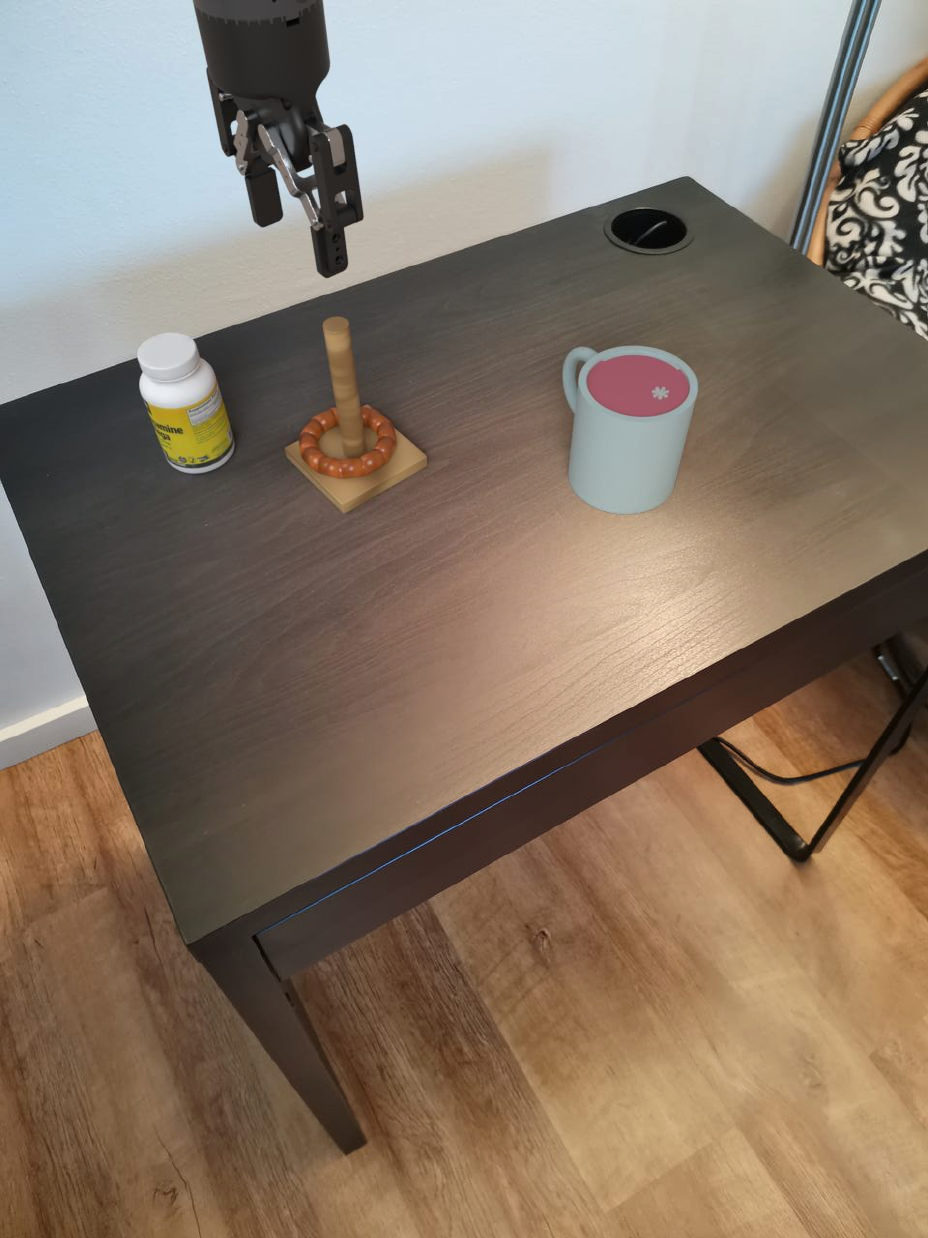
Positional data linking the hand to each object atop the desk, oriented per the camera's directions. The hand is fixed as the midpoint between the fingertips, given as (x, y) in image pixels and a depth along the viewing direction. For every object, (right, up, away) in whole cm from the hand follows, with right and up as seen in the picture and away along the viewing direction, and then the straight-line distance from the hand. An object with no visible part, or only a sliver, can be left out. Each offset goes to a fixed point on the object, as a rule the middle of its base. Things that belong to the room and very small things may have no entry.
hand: (300, 246), depth 64 cm
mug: (+24, -13, +13) cm, 31 cm away
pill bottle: (-12, -12, +15) cm, 22 cm away
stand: (+2, -13, +14) cm, 19 cm away
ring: (+2, -12, +12) cm, 17 cm away
